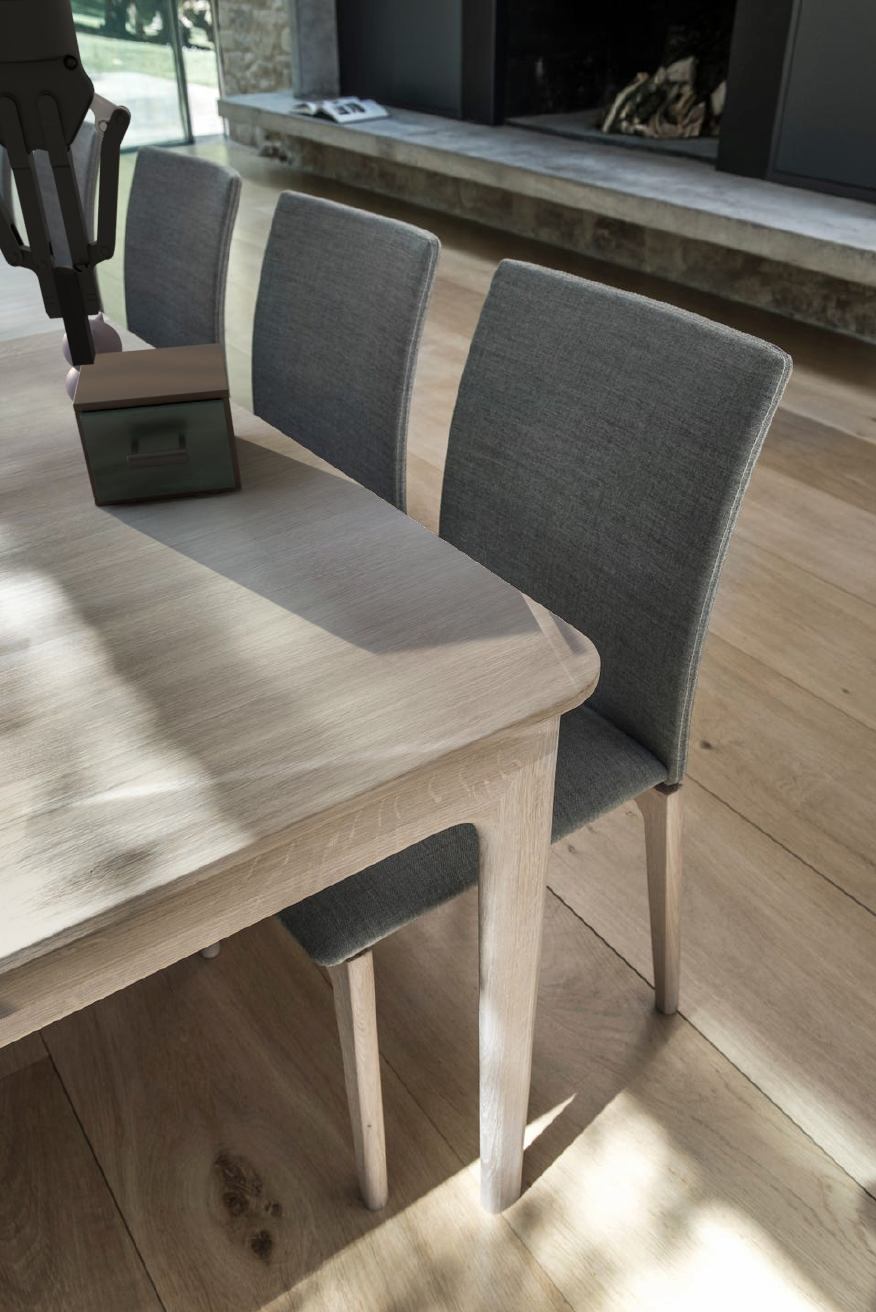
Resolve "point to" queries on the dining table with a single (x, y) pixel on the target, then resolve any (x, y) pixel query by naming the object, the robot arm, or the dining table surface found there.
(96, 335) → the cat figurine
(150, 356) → the cabinet
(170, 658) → the dining table surface
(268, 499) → the dining table surface
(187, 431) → the drawer
